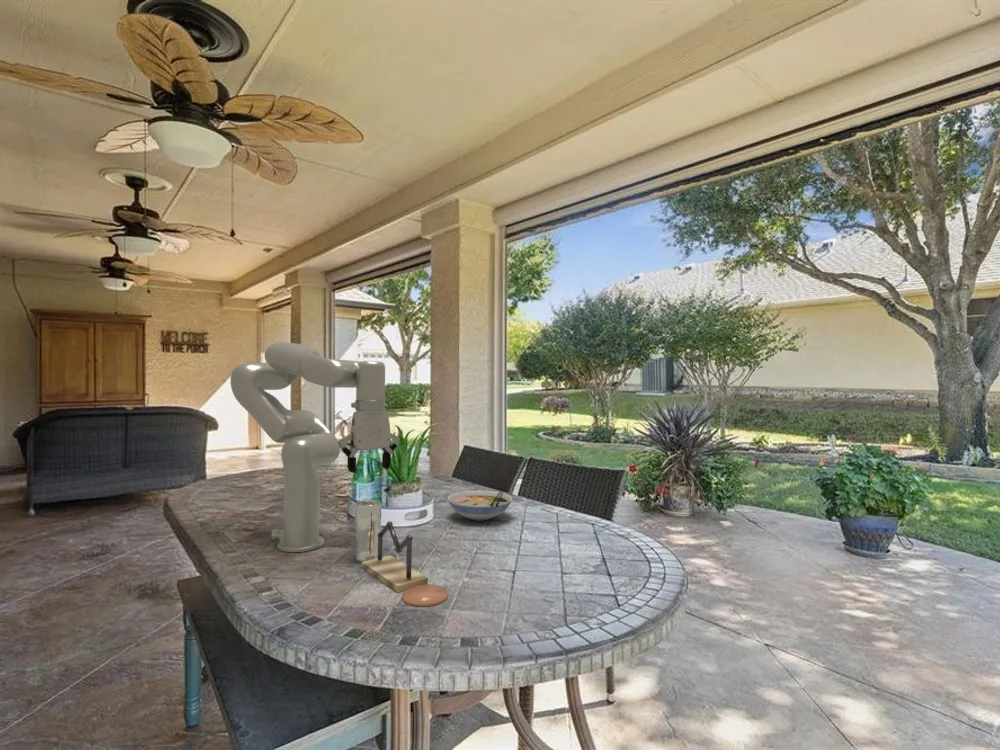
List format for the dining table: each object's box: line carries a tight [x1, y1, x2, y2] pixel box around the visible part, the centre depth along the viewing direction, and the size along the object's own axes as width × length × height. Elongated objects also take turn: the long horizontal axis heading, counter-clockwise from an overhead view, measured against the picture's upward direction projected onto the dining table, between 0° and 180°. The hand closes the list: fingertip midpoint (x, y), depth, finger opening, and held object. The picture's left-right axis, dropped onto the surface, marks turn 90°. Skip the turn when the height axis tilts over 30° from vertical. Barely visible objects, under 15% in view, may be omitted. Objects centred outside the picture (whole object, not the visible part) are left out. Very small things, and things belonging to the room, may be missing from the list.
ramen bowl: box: [447, 489, 513, 522], centre depth 175 cm, size 25×23×8 cm
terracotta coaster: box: [401, 584, 449, 608], centre depth 111 cm, size 10×10×1 cm
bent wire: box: [377, 521, 414, 578], centre depth 123 cm, size 16×2×11 cm, turn 40°
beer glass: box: [354, 499, 382, 563], centre depth 134 cm, size 7×7×15 cm
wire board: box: [361, 555, 429, 593], centre depth 123 cm, size 19×8×2 cm, turn 40°
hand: (369, 470), depth 134 cm, fingers open, 9 cm apart
